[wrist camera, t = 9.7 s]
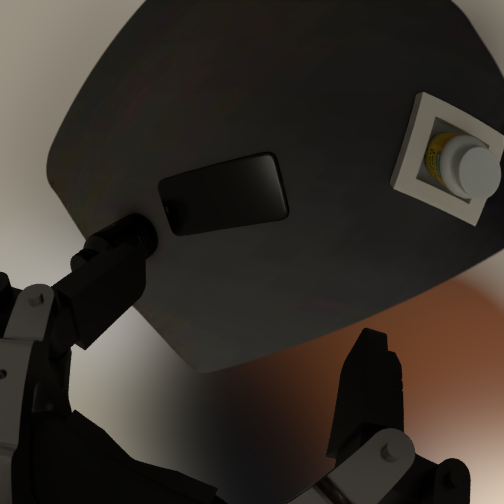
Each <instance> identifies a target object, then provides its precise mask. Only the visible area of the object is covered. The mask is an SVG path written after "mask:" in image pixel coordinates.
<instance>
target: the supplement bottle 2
mask: <svg viewBox="0 0 504 504" xmlns="http://www.w3.org/2000/svg"><path fill="white" fill-rule="evenodd" d="M423 159H424V164H425V166H426V169H427V171H428V172H429V173H430V175H431V176H432V177H433V178H435V179H436V180H437V181H438V182H440V183H441V184H442V185H443V186H445V187H446V188H447V189H449V190H450V191H451V192H452V193H454V194H455V195H457V196H459V197H462V198H466V199H472V198H476V199H485V198H488V197H490V196H491V195H492V194H494V192H495V191H496V190H497V188H498V186H499V183H500V179H501V169H500V165H499V162H498V160H497V158H496V156H495V155H494V154H493V153H492V152H491V151H490V150H489V149H488V148H487V147H486V146H485V145H484V144H483V143H482V142H481V141H480V140H478V139H477V138H475V137H472V136H469V135H463V134H456V133H449V132H440V133H437V134H435V135H433V136H431V137H430V138H429V140H428V144H427V147H426V150H425V153H424V156H423Z"/></svg>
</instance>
